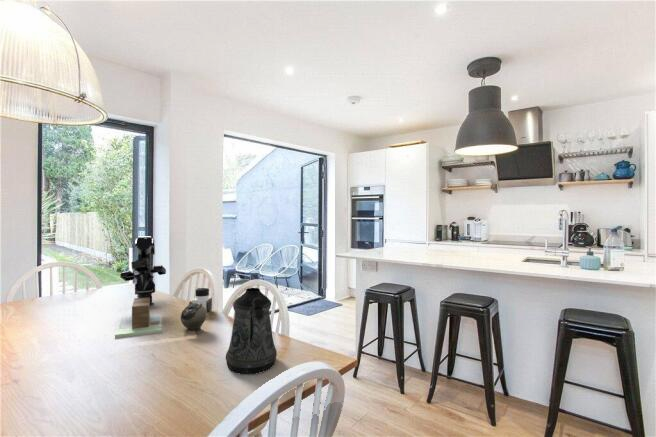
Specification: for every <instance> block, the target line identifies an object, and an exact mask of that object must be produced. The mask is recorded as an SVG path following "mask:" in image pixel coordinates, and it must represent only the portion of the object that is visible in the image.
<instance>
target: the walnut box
mask: <svg viewBox="0 0 656 437" xmlns="http://www.w3.org/2000/svg"><path fill="white" fill-rule="evenodd" d="M150 306H151V305H150V297H145V298H137V297H135V298H134V299H133V303H132V305H131V317H132V324H131V325H132V329H135V328H144V327H149V318H150V315H151V314H150V311H151V309H150V308H151V307H150Z"/></svg>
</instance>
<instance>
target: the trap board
mask: <svg viewBox="0 0 656 437" xmlns="http://www.w3.org/2000/svg"><path fill="white" fill-rule="evenodd" d="M153 322H158V324H152V325H151V323H153ZM125 325H130V327H127V328H126V327H124V328H122V327H123V326H125ZM160 333H161V334H162V333H163V314H162V313H158V314H157V313H156V314H150V318H149V327H144V328H135V329H132V316H130V317H129V316H128V317H121V319H120V322H119V325H118V327H117V331H116V333H115V334H114V338H115V339H120V338H127V337H136V336H145V335H153V334H160Z"/></svg>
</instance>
